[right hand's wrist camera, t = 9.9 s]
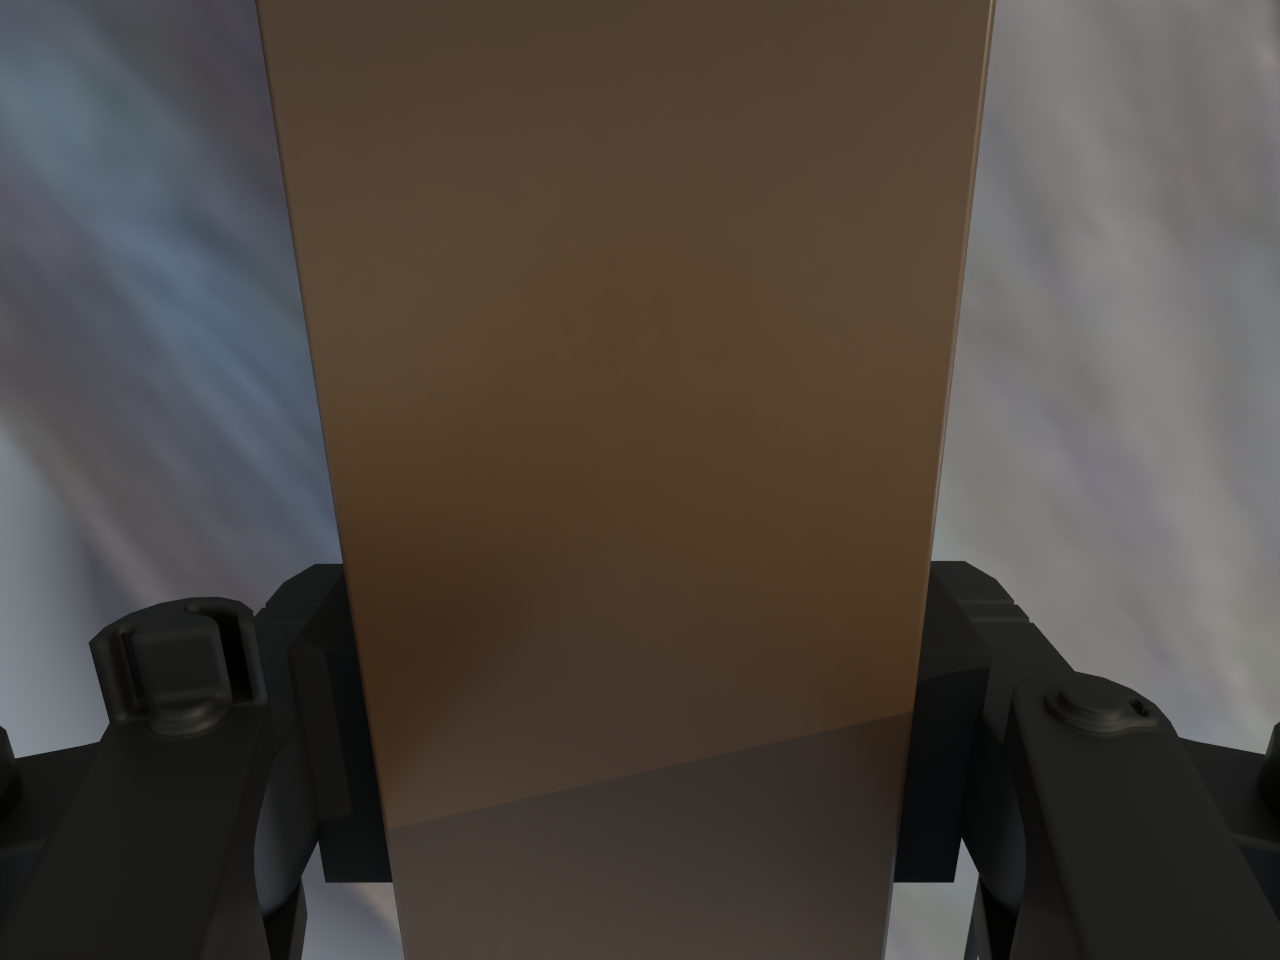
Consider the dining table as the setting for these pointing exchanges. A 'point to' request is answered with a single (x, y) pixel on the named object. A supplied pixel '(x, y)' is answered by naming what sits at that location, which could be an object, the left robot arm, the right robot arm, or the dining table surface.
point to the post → (634, 445)
